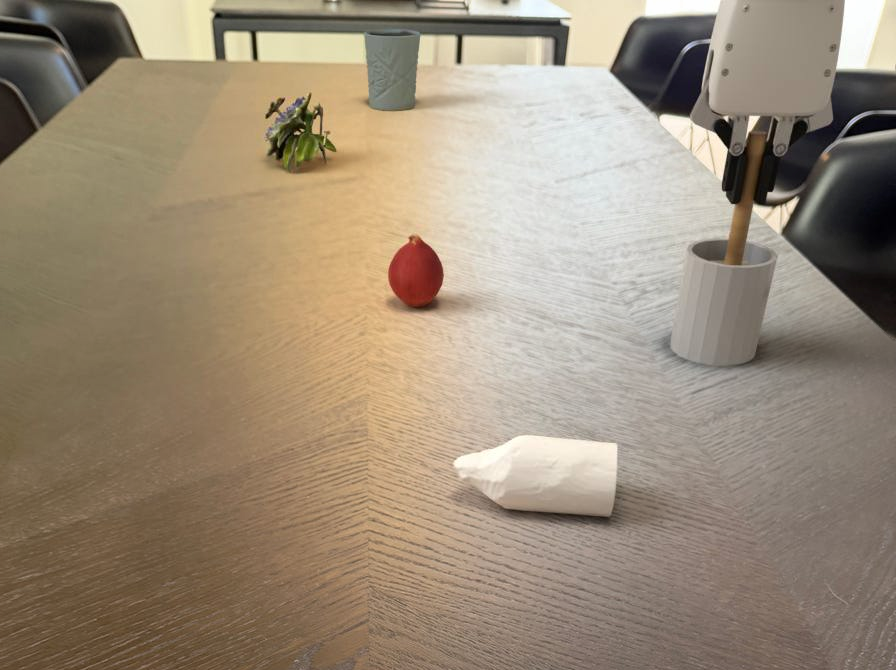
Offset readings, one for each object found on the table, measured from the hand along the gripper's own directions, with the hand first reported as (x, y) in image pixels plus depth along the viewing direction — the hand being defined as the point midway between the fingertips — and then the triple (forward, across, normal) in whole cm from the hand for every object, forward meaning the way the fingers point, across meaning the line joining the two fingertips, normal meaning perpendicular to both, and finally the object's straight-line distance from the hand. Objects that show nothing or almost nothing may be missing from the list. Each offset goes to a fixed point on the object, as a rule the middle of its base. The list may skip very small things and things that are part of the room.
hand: (745, 198), depth 90 cm
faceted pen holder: (+15, 0, 0) cm, 15 cm away
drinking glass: (+14, +40, -113) cm, 121 cm away
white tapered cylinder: (+15, +19, +30) cm, 39 cm away
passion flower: (+14, +51, -70) cm, 88 cm away
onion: (+15, +30, -10) cm, 35 cm away
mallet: (+10, 0, 0) cm, 10 cm away
